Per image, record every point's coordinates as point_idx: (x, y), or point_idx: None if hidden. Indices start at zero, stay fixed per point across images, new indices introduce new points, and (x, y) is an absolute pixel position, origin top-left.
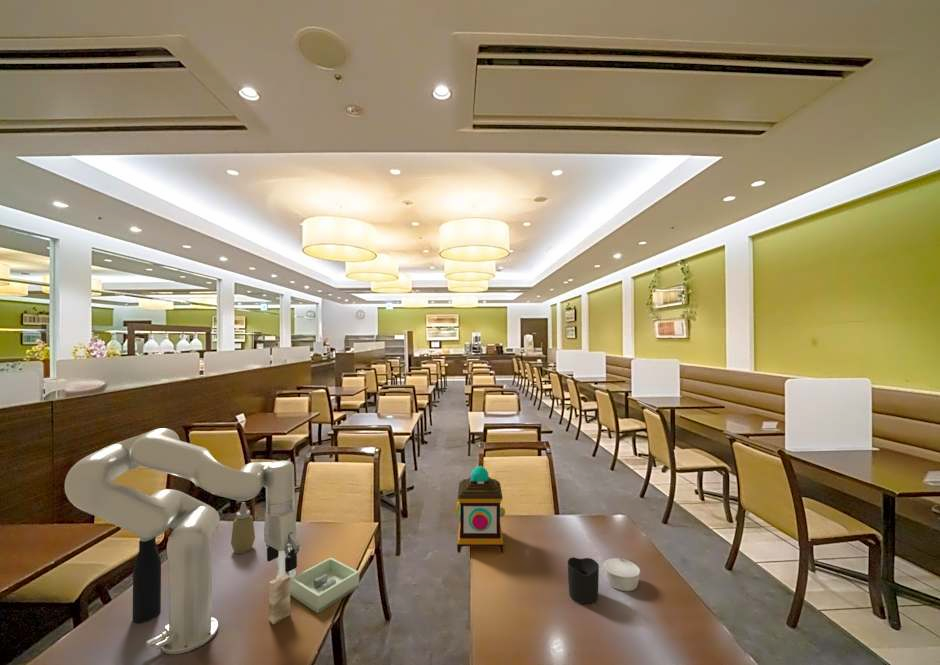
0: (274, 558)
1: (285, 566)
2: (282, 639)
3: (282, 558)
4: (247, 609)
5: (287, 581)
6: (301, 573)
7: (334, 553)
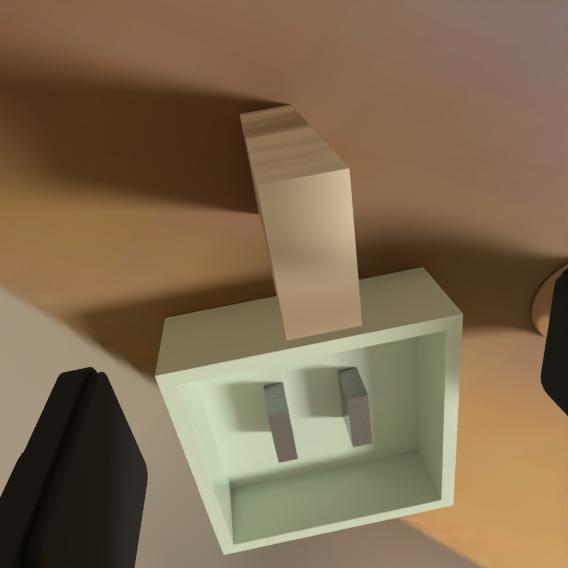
0: (550, 344)
1: (54, 425)
2: (63, 107)
3: None
4: (503, 38)
5: (278, 300)
6: (450, 373)
7: (530, 487)
